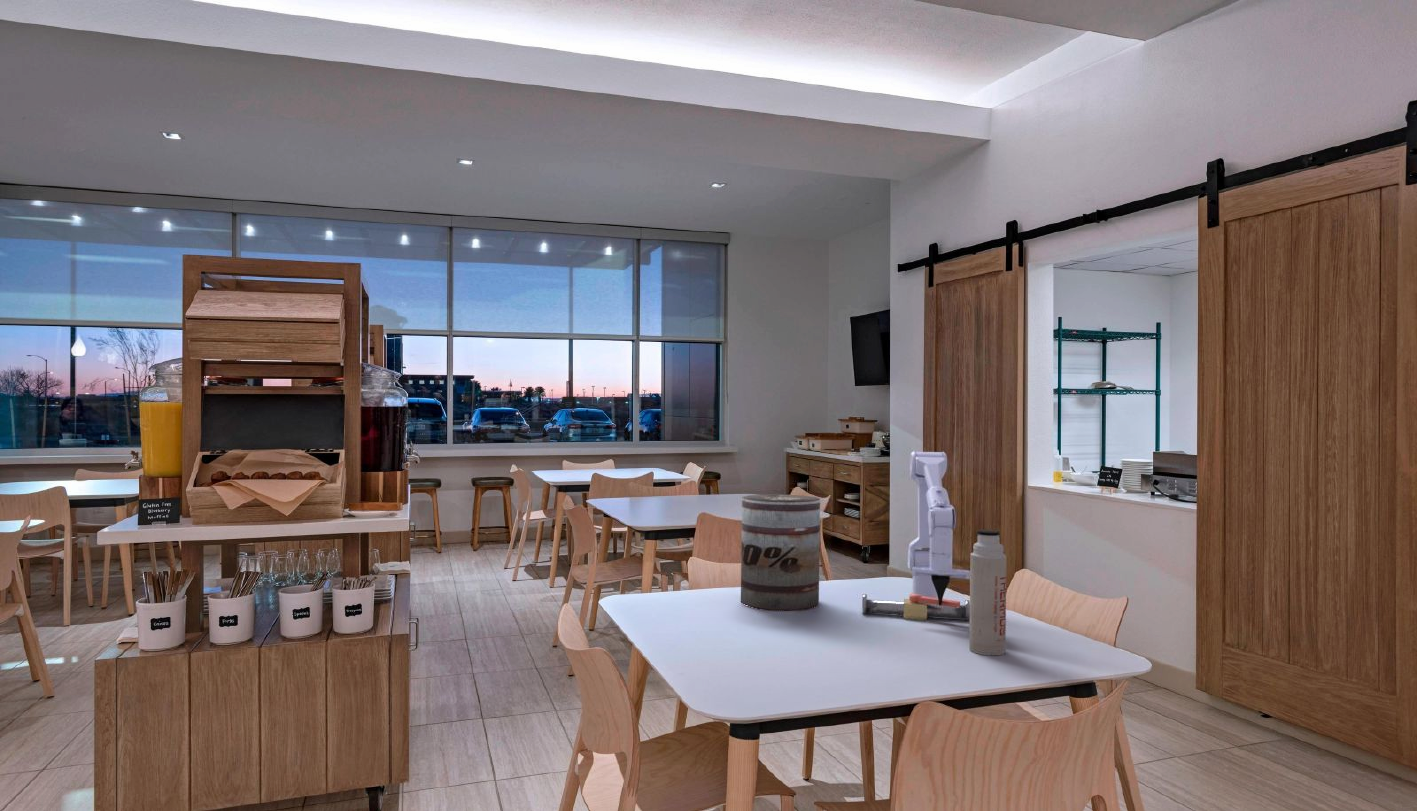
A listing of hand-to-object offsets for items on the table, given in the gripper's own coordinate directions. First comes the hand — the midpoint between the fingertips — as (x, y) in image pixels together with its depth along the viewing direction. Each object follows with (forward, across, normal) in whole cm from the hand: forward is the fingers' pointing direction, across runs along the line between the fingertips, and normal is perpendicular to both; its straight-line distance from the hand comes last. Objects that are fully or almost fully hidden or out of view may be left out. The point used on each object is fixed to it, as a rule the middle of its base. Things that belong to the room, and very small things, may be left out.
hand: (940, 604), depth 226 cm
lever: (0, -2, +3) cm, 4 cm away
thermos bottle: (+5, +10, -24) cm, 27 cm away
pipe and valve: (+5, -6, +5) cm, 10 cm away
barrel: (+5, -44, +12) cm, 46 cm away
